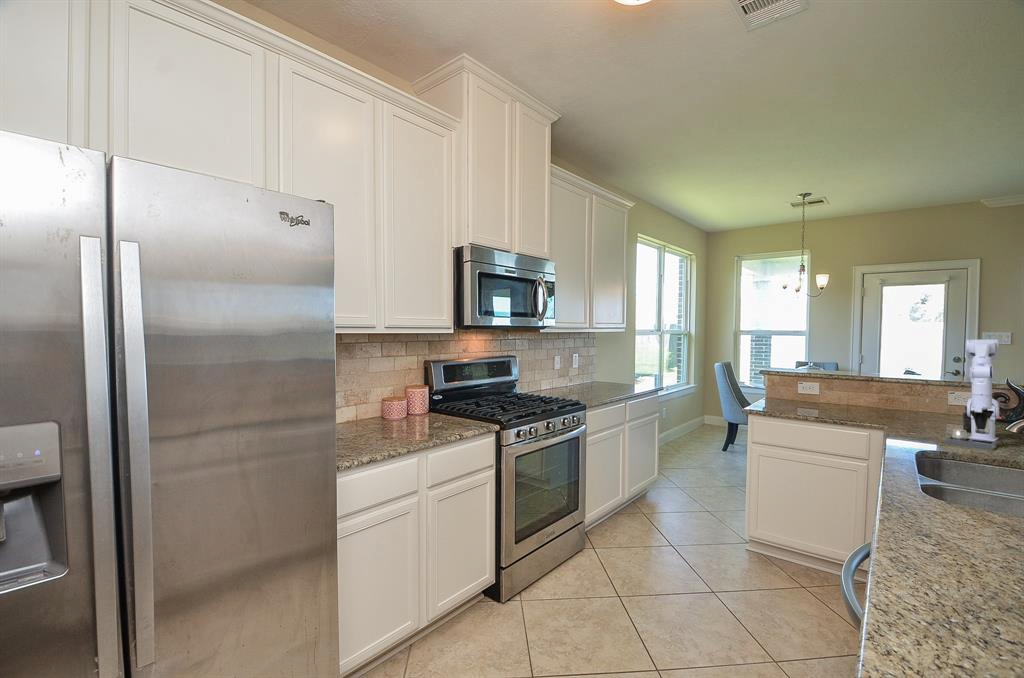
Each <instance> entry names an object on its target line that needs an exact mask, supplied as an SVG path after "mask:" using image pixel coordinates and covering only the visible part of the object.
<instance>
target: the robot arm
mask: <svg viewBox="0 0 1024 678" xmlns="http://www.w3.org/2000/svg"><path fill="white" fill-rule="evenodd" d="M965 346H966V347H965V352H966V356H967V358H969V359H971V366H970V367H969V378H970V384H971V397H970V398H968V399H967V402H966V403H967V404H966V407H967V416H969V417H970V416H971V433H970V435H969V437H968V438H969V439H977V440H985V441H993V442H997V440H999V437H996V420H998V419H999V418H1000V406H999V404H1000V403H999V401H998V400H996V399H995V398H993V380H994V366H993V361H992V360H995V359H998V356H999V339H997V338H995V339H970V338H969V339H967V340H966V343H965ZM987 419H989V433H990V434H980V433H975V424H976V427H977V429H982V430H985V427H986V423H987Z"/></svg>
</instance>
